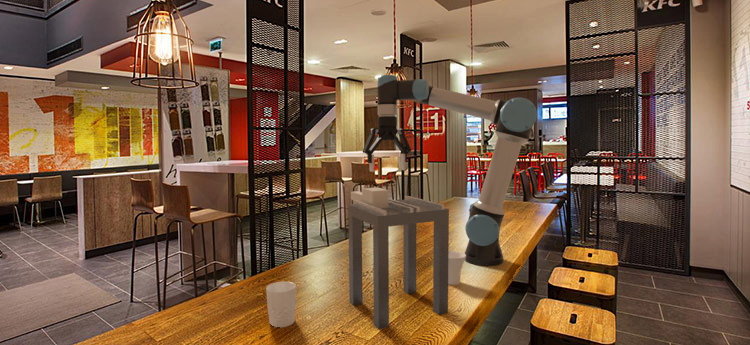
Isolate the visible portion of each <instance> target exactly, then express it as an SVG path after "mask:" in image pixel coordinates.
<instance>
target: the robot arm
mask: <svg viewBox="0 0 750 345" xmlns="http://www.w3.org/2000/svg"><path fill="white" fill-rule="evenodd" d="M376 90H377V93H376V94H377V116H378V117H377V129H376V128H370V130H369V135H368V138H367V140H366V142H365V145H364V147H363V150H362V153H363V154H366V155H367V156H366V157H367V164H369V168H368V169H369V172H372V173H375V154H374V152H375V150H376V149H377V148H378V147H379V145H380V144H381V143H382V142H383V141H392V142H393V143H394V144H395V146H396V147H397V148H398V150H400V152H401V153H400V154H399V170H400V171H405V170H406V163H407V161H408V160H407V157H408V154H409V153H411V152H412V149H411V146H410V144H409V141H408V140H407V137H406V134H405V129H404V128H397V127H398V117H397V115H398V101H412V102H414V103H416V104H422V105H427V106H431V107H436V108H439V109H444V110H447V111H451V112H454V113H458V114H459V113H460V114H464V115H467V116H472V117H475V118H480V119H483V120H486V121H487V120H488V121H490V122H491V124H492V125H496V127H495V131H494V132H495V134H496V136H497V139H496V142H495V143H496V144H495V146H494V149H493V152H492V156H491V159H490V162H489V166H488V169H487V172H486V174H485V178H484V181H483V185H482V188H481V191H480V195H479V198H478V200H477V201H475V202H473V203H471V204H469V209H468V211H469V212H468V213H469V214H468V215H469V216H468V220H467V222H466V224H465V228H464V229H465V233H466V236H467V238H468V242H467V246H466V248H465V251H464V254H465V255H466V259H465V261H466V262H467V263H469V264H473V265H477V266H486V267H488V266H498V265H501V264H503V262H504V254H503V251H502V247H501V245H500V231H501V226H502V222H503V219H504V218H505V214H506V213H505V211H504V209H503V206H504V202H505V199H506V197H507V194H508V193H507V192H508V189H509V187H510V183H511V180H512V178H513V175H514V174H513V173H514V171H515V168H516V164H517V161H518V158H519V155H520V152H521V149H522V145H523V144H524V143H525V142H528V141H529V139H530V136H531V132H532V129H533V126H534V125H535V124H536V122H537V118H538V111H537V110H538V109H537V107H536V105H535V104H534V103H533V102H532V101H531V100H529V99H528V98H524V97H520V96H519V97H514V98H513V97H512V98H511V99H509V100H504V99H498V100H492V99H487V98H482V97H478V96H475V95H470V94H465V93H463V92H462V93H461V92H458V91H457V92H456V91H454V90H449V89H444V88H440V87H435V86H431V85H429V82H428V80H427V79H426V78H425V79H423V78H422V79H419V78H417V79H403V80H399V79H398V77H397V76H396V75H394V74H380V75H379V76H378V78H377V87H376ZM376 135H378V136H377V137H376ZM397 135H398V136H399V138H400V139H399V138H398V136H397ZM375 137H376V139H375ZM374 139H375V141H374Z"/></svg>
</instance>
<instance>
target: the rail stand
mask: <svg viewBox="0 0 750 345" xmlns="http://www.w3.org/2000/svg"><path fill="white" fill-rule="evenodd" d="M347 207H348V209H347V210H348V213H347V214H348V216H347V220H348V272H349V273H348V277H349V279H348V282H349V283H348V284H349V286H348V287H349V290H348V291H349V292H348V294H349V298H348V299H349V303H350V304H351V305H353V306H357V305H362V304H363V303H364V302H363V224H362V223H363V222H365V223H367V224H369V225H371V226H372V231H373V232H372V257H373V258H372V260H373V261H372V264H373V265H372V266H373V270H372V271H373V273H372V274H373V326H374V327H375V328H376V329H378V330H382V329H387V328H390V312H389V311H390V287H389V286H390V283H389V282H390V278H389V277H390V273H389V272H390V270H389V269H390V266H389V264H390V259H389V257H390V256H389V255H390V253H389V252H390V250H389V248H390V246H389V242H390V241H389V236H390V234H389V228H391V227H395V226H403V292H404V293H406V294H407V295H411V294H416V293H417V224H421V223H422V224H423V223H432V222H433V251H432V252H433V262H432V264H433V266H432V267H433V269H432V270H433V275H432V276H433V277H432V279H433V280H432V281H433V283H432V284H433V285H432V286H433V288H432V289H433V291H432V292H433V294H432V297H433V298H432V303H433V304H432V311H433V312H434V313H435V314H437V315H439V316H441V315H445V314H449V285H448V251H450V250H449V242H450V241H449V235H450V231H449V230H450V226H449V225H450V218H449V217H450V208H447V207H445V204H442V203H437V202H434V201H429V200H425V199H422V198H418V197H414V196H409V195H404V199H398V200H396V199H392V198H389V197H388V208H377V207H375V206H372V205H369V204H366V203H363V202H360V201H357V200H352V203H351V204H348V205H347Z"/></svg>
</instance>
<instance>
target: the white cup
mask: <svg viewBox="0 0 750 345" xmlns="http://www.w3.org/2000/svg"><path fill="white" fill-rule="evenodd" d="M265 292H266V304H267V314H268V320H269V321H268V322H269V325H270V324H271V325H272V326H274V327H273V328H277V327H280V328H287V327H289V326H291V325H293V324H294V323H295V321H296V320H295V317H296V315H295V313H296V305H297V304H296V303H297V301H296V300H297V299H296V298H297V297H296V295H297V285H296V283H294V282H292V281H276V282H273V283H269V284H267V286H266V287H265ZM271 325H270V326H271ZM272 326H271V327H272Z"/></svg>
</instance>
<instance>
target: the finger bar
mask: <svg viewBox="0 0 750 345" xmlns="http://www.w3.org/2000/svg"><path fill="white" fill-rule="evenodd" d="M388 198H389V189H386V188H382V187H363V188H361V191H359V190H356V191H350V200H351V201H353V200H357V201H360V202H363V203H366V204H369V205H372V206H375V207H377V208H388Z"/></svg>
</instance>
